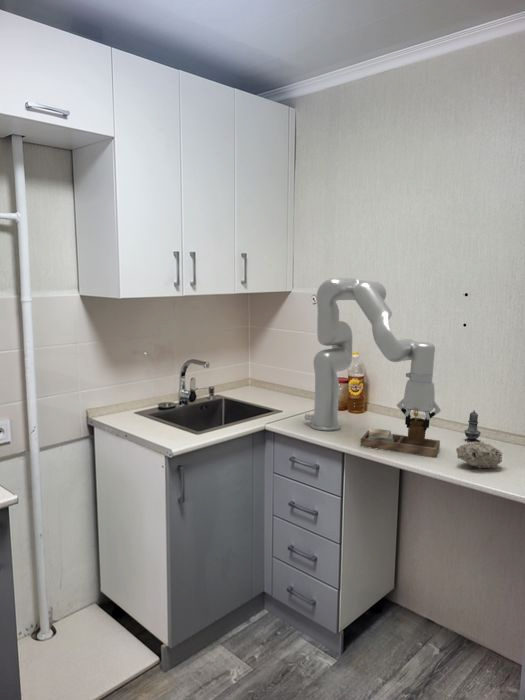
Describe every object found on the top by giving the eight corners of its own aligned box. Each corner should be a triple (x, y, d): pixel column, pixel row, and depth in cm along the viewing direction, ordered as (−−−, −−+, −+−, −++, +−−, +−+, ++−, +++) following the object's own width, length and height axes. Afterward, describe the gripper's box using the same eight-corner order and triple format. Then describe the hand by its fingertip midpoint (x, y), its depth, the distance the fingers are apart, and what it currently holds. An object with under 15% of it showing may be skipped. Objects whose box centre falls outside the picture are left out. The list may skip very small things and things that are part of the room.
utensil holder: (427, 438, 192) (429, 405, 190) (421, 442, 187) (424, 409, 185) (410, 435, 195) (413, 402, 194) (404, 439, 190) (407, 406, 188)
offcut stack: (366, 446, 195) (366, 432, 194) (368, 441, 201) (369, 427, 200) (391, 449, 192) (392, 435, 191) (393, 444, 198) (394, 430, 197)
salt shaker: (481, 443, 200) (484, 412, 198) (464, 442, 201) (467, 411, 200) (478, 439, 206) (481, 408, 204) (462, 438, 207) (464, 407, 205)
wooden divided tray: (360, 446, 194) (360, 438, 194) (367, 438, 204) (368, 430, 204) (435, 457, 183) (436, 449, 183) (439, 448, 193) (440, 440, 193)
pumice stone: (473, 475, 168) (475, 450, 167) (446, 462, 179) (448, 439, 178) (506, 469, 173) (509, 445, 172) (479, 458, 184) (481, 435, 183)
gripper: (394, 376, 188) (390, 427, 191) (445, 382, 181) (440, 435, 184) (398, 373, 195) (394, 422, 197) (447, 379, 188) (443, 429, 191)
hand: (416, 427), depth 191 cm, fingers closed on utensil holder, 5 cm apart
